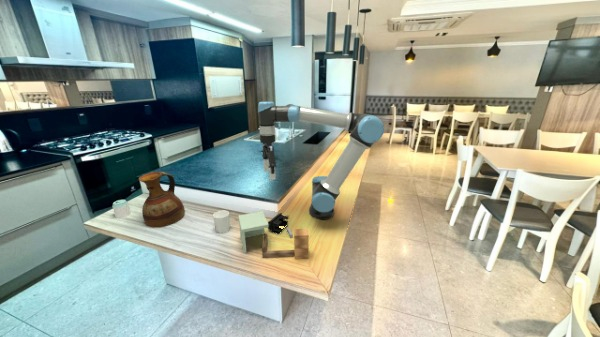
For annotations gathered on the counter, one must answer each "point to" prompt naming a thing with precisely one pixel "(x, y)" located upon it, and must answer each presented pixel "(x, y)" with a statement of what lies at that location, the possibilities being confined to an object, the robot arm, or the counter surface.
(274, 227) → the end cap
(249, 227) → the cubby shelf
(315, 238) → the counter surface
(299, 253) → the wooden desk organizer
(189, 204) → the counter surface
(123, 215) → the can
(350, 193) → the counter surface
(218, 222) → the white cup
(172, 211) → the ceramic pitcher
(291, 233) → the stop strip
